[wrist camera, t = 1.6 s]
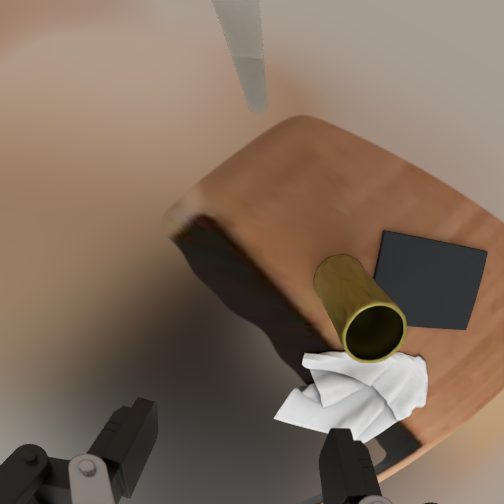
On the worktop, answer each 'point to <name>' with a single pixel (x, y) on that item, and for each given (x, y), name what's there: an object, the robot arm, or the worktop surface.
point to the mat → (430, 279)
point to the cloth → (356, 393)
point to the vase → (359, 310)
